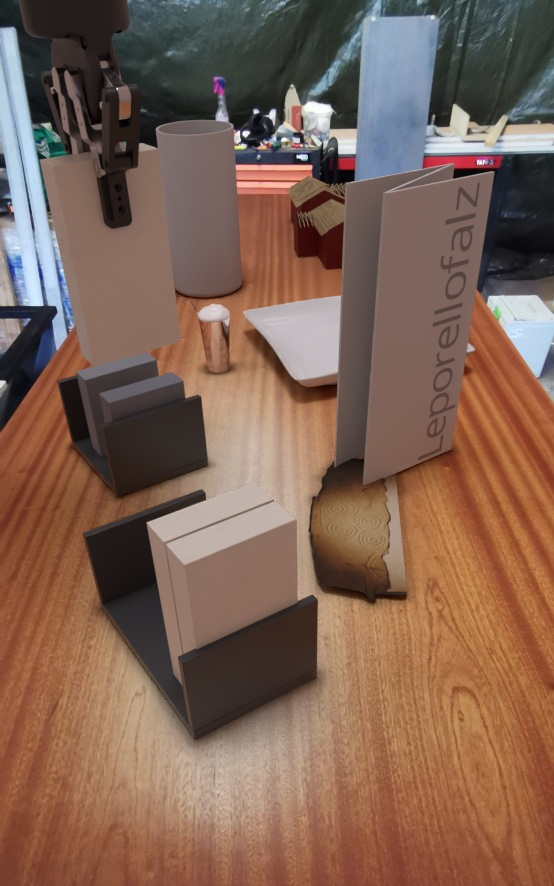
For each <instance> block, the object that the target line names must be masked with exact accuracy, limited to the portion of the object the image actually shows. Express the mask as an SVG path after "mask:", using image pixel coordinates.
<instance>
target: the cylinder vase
mask: <svg viewBox="0 0 554 886" xmlns="http://www.w3.org/2000/svg"><path fill="white" fill-rule="evenodd" d="M155 134H156V144H157V148H158V154H159V162H160V170H161V179H162V187H163V195H164V204H165V212H166V220H167V228H168V237H169V245H170V253H171V262H172V270H173V278H174V286H175V291H177V292H178V293H179V294H182V295H183V296H188V297H191V298H192V297H193V298H199V299H201V298H202V299H203V298H204V299H205V298H207V299H208V298H217V297H222V296H226V295H229V294H232V293H234V292H236V291H237V290H238V289H239V288H240V287H241V286H242V283H243V271H242V251H241V236H240V235H241V233H240V217H239V215H240V214H239V198H238V181H237V165H236V163H237V162H236V161H237V160H236V145H235V143H236V142H235V127H234V124H233V123H232V122H228V121H224V120H216V119H215V120H213V119H193V120H181V121H174V122H168V123H165V124H161V125H159V126H156V128H155Z"/></svg>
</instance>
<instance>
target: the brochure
mask: <svg viewBox="0 0 554 886" xmlns="http://www.w3.org/2000/svg"><path fill="white" fill-rule="evenodd" d="M454 171H455V163H445V164H441V165H436V166H430V167H426V168H420V169H419V168H418V169H415V170H414V169H413V170H407V171H403V172H397V173H392V174H387V175H382V176H375V177H372V178H365V179H361V180H355V181H348V182H345V183H346V184H345V183H344V184H345V186H344V187H345V209H344V234H343V259H342V268H341V285H340V286H341V287H340V296H341V309H340V334H339V359H338V384H337V387H336V389H337V390H336V408H335V409H336V410H335V411H336V412H335V413H336V414H335V437H334V459H333V461H334V467H337V466H338V465H340V464H342V463H344V462H345V461H349V460H350V459H352V458H358V459H362V458H363V459H364V473H363V485H367V484H369V483H372V482H374V481H376V480H378V479H381V478H386V477H388V476H390V475H393V474H395V473H396V474H397V473H399V472H402V471H404V470H406V469H409V468H411V467H414V466H416V465H418V464H420V463H423V462H425V461H428V460H430V459H432V458H434V457H437V456H439V455H441V454H444V453H447V452H448V451H450V450H452V449H453V442H454V436H455V429H456V425H457V424H456V423H457V417H458V410H459V404H460V399H461V397H460V396H461V393H462V392H461V391H462V386H463V385H462V384H463V379H464V371H465V365H466V358H467V357H466V353H467V347H468V343H469V338H470V332H471V326H472V320H473V314H474V307H475V301H476V296H477V295H476V294H477V288H478V281H479V275H480V269H481V262H482V256H483V250H484V244H485V243H484V242H485V237H486V236H485V235H486V230H487V223H488V217H489V211H490V204H491V198H492V192H493V184H494V177H495V171H486V172H482V173H477V174H471V175H466V176H461V177H457V178H454V174H455V173H454Z"/></svg>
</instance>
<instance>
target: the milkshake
mask: <svg viewBox="0 0 554 886" xmlns="http://www.w3.org/2000/svg"><path fill="white" fill-rule="evenodd" d="M190 303H191V306H192V307H193V308H194V311H195V313H196V315H197V319H198V324H199V329H200V334H201V339H202V345H203V350H204V357H205V363H206V368H207V371H208V372H209V373H212V374H222V373H226V372H228V370H229V369H230V330H231V329H230V327H231V312H230V311H229V309H228V308H226V307H225V306H224V305H222V304H216V303H211V304H209V305H207V306H203V307H202V308H201V309H200V310H199V312H198V311H197V309H196V307H195V305H194V303H193V301H192V300H190Z"/></svg>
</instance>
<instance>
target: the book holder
mask: <svg viewBox="0 0 554 886" xmlns="http://www.w3.org/2000/svg"><path fill="white" fill-rule="evenodd" d="M82 536H83V537H82V538H83V541H84V545H85V548H86V549H85V550H86V552H87V557H88V561H89V565H90V568H91V572H92V576H93V579H94V585H95V588H96V592H97V595H98V600H99V603H100V608H101V609H102V610H103V612H104V613H105V615H106V616H107V618H108V619H109V620H110V622H111V623H112V624H113V626H114V628H115V629H116V630H117V632H118V634H120V636H121V637H122V639H123V640H124V642H125V643H126V644H127V646H128V648H130V650H131V652H132V653H133V654H134V655H135V657H136V659H137V660H138V661H139V663H140V664H141V666H142V667H143V668H144V670H145V671H146V673H147V674H148V676H149V677H150V678H151V680H152V681H153V683H154V684H155V685H156V687H157V688H158V690H159V692H161V694H162V695H163V697H164V698H165V700H166V701H167V702H168V704H169V705H170V707H171V708H172V710H173V711H174V713H175V714H176V715H177V716H178V718H179V720H180V721H181V722H182V724H183V725H184V727H185V728H186V729H187V730H188V732H189V733H190V735H191V737H192V738H193V739H194V740H197V739H199V738H200V737H202V736H204V735H206V734H208V733H210V732H213V731H214V730H216V729H218V728H220V727H222V726H224V725H226V724H228V723H230V722H232V721H234V720H236V719H238V718H239V717H242V716H244V715H245V714H247V713H249V712H252V711H253V710H255V709H257V708H259V707H260V706H263V705H264V704H266V703H269V702H271V701H273V700H274V699H276V698H278V697H280V696H282V695H283V694H286V693H288V692H290V691H291V690H293V689H295V688H297V687H300V686H301V685H303V684H305V683H307V682H310V681H311V680H314V679H315V678H317V677H318V634H319V633H318V632H319V631H318V630H319V629H318V627H319V625H318V624H319V622H318V620H319V619H318V618H319V599H318V598H317V597H316V596H315V595H314V594H310V595H307V596H306V597H303V598H301V599H298V598H299V597H298V595H299V593H298V591H299V587H298V518H296V517H295V516H294V515H293V514H292V513H291V512H290V511H288V510H287V509H286V508H285V507H284V506H283V505H281V504H280V503H279V502H278V501H277V500H275V499H274V498H273V497H272V496H271V495H270V494H269V493H268V492H267V491H265V490H264V489H263V488H262V487H261V486H260V485H258V484H257V483H256V482H255V481H254V482H250V483H248V484H245V485H243V486H240V487H237V488H235V489H232V490H229V491H226V492H224V493H222V494H219V495H218V494H217V495H216V496H214V497H213V496H212V497H211V498H208V499H207V493H206V492H205V490H204V489H203V488H201V489H197V490H195V491H193V492H189V493H187V494H184V495H181V496H179V497H176V498H173V499H171V500H168V501H165V502H162V503H160V504H157V505H155V506H152V507H149V508H146V509H144V510H141V511H138V512H135V513H133V514H130V515H127V516H124V517H121V518H119V519H117V520H114V521H111V522H108V523H105V524H103V525H100V526H97V527H94V528H92V529H89V530H86V531H84V532H83V531H82Z"/></svg>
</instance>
